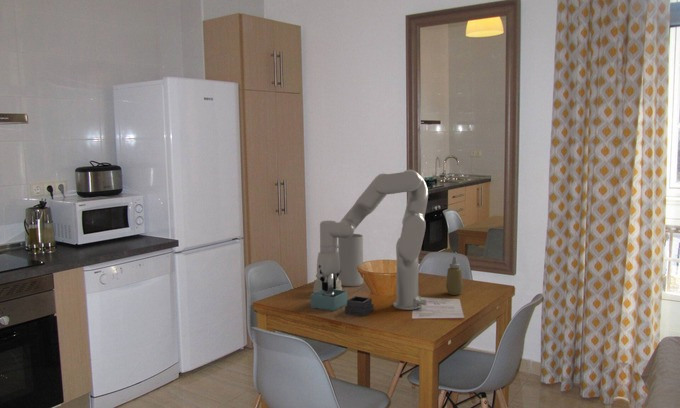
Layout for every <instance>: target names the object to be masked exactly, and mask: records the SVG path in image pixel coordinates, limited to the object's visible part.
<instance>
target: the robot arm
mask: <svg viewBox="0 0 680 408" xmlns="http://www.w3.org/2000/svg"><path fill="white" fill-rule="evenodd" d="M400 193H408V196H407V202H406V207H405V211H404V215H403V218H402V222H401V223H402V228H401V233H400V237H399V238H398V239H397V241H396V244H395V249H396V250H395V253H396V300H395V301H394V302H393V303H392V306H393V307H394V308H395V309H398V310H405V311H413V310H414V309H415V310H418V309H417V308H419V309H421V308H422V306H427V305H428V301H427V299H422V298H421V295H419V268H420V266H419V256H420V253H421V250H422V247H423V246H422V245H423V241H424V238H425V234H426V233H425V232H426V220H425V217H426V216H425V215H426V211H427V208H428V207H427V206H428V199H429V189H428V186H427V183H426V181H425V179H424V178H423V177H422V175H420V174H419V172H417V171H416V170H414V169H407V170H404V171H403V172H402V171H399V172H396V173H384V172H383V173H379V174H378V175H376V176H375V177H374V178H373V180H372V181H371V182H370V183H369V184H368V186H367V187H366V188H365V190H364V191H363V192H362V193H361V195H360V196H359V197H358V198H357V199H356V201H355V203H354V204H353V205H352V206H351V208H350V209H349V210H348V211H347V212H346V214H344V216H343V217H342V219H341V220H340V221H339V222H337V221H335V220H322V221H321V222H320V223H319V248H320V249H319V252H318V254H317V261H316V274H315V277H316V279H317V278H319V279H320V280H321V281H322V290H324V291H328V282H327V275H330V274H333V282H334V289H336V280H337V277H338V278H339V274H340V273H341V272H342V271H341V269H340V260H339V254H338V247H339V246H338V238H343V239H347V238H350V237H351V236H352V235H353V234H355V231H356V229H357V228H358V227H359V225H360V224H361V223H362V222H363V220H364V219H365V218H366V217H367V216H369V215H370V214H372V213H373V212H374V211H376V208H377V207H378V206H379V205H380V204H381V202H382V201H383V200H384V198H385V197H386V196H387V195H394V194H400ZM420 307H421V308H420Z"/></svg>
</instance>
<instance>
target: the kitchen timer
mask: <svg viewBox="0 0 680 408" xmlns="http://www.w3.org/2000/svg"><path fill="white" fill-rule="evenodd" d="M313 284H314V285H313V289H312V294H313V293H315V292H317V291H319V290H321V289H322V281H321V280H320V279H319V278H317V277H316V279H314V280H313ZM336 290H343V287H342V285H341V280H339V276H338V277H337V280H336Z"/></svg>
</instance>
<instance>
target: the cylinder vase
mask: <svg viewBox="0 0 680 408" xmlns="http://www.w3.org/2000/svg"><path fill="white" fill-rule="evenodd" d="M337 245H338V246H339V247H338V248H337V251H338V254H339V260H340V269H341V271H342V272H341V273H340V274H339V276H338V279H339V280H341V287H342V286H343V287H359V286H362V285H363V284H364V277H363V278H362V277H361V275H360V273H359V272H358V269H357V266H358V265H360V264H362V263H363V264H364V236H363V234H359V233H354V234H353V235H352V236H351V237H350V238H347V239H343V238H337Z"/></svg>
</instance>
